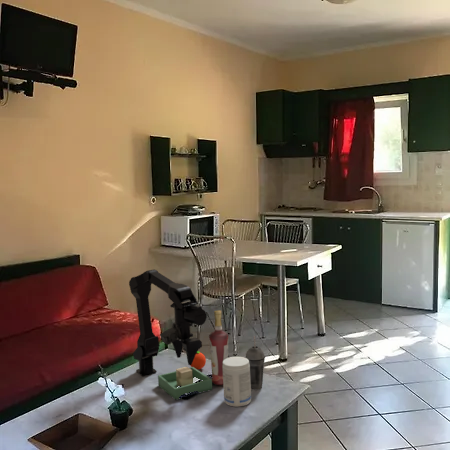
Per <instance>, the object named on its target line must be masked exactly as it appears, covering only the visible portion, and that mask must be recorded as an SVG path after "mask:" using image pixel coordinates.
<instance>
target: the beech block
mask: <svg viewBox="0 0 450 450" xmlns="http://www.w3.org/2000/svg"><path fill="white" fill-rule="evenodd" d="M190 368H191V367H188V366H184V367H179V368H176V369H175V371H176V380H177V385H178V386H181V387H182V386H185V385H189V384H193V376H192V370H191V369H190Z"/></svg>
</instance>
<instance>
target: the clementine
mask: <svg viewBox="0 0 450 450" xmlns="http://www.w3.org/2000/svg"><path fill="white" fill-rule="evenodd" d="M206 358H207V357H206V356H205V354H203V353H202V352H200V350H198V351H197V353H196V355H195V357H194V360H193V362H192V364H191V365H189V366H190V368H191V367H194V368H195V369H197V370H198V371H199V370H201V369H203V368H204V367H205V366H206V363H207V360H206Z"/></svg>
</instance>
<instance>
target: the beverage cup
mask: <svg viewBox="0 0 450 450" xmlns="http://www.w3.org/2000/svg"><path fill="white" fill-rule="evenodd" d="M244 358H247V359H248V360H249V364H250V381H251V390H253V391H259V390H261V389H262V388H263V384H264V383H263V381H264V379H263V378H264V365H265V364H264V363H265V359H266V356H265V352H264V351H263V348H261V347H260V346H258V345H257V344H256V336H255V335H253V346H251V347H248V349H247V350H246V353H245V357H244Z"/></svg>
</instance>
